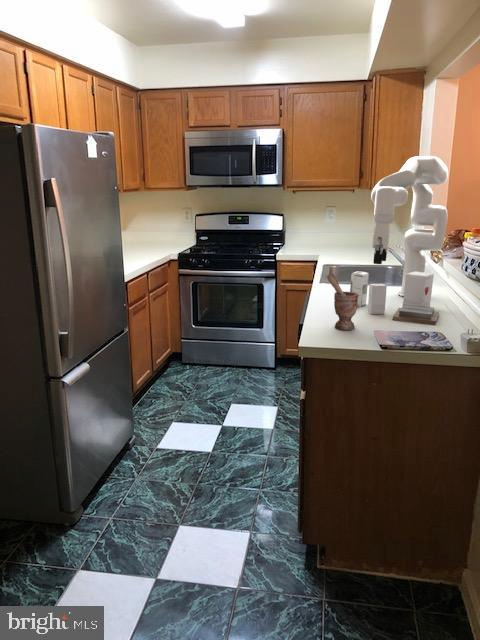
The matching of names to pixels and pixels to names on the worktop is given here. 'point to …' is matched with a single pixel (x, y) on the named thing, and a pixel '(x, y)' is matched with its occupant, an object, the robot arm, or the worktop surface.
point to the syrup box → (359, 286)
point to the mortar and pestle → (343, 305)
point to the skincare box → (377, 298)
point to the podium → (416, 314)
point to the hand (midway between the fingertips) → (379, 262)
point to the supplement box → (418, 289)
